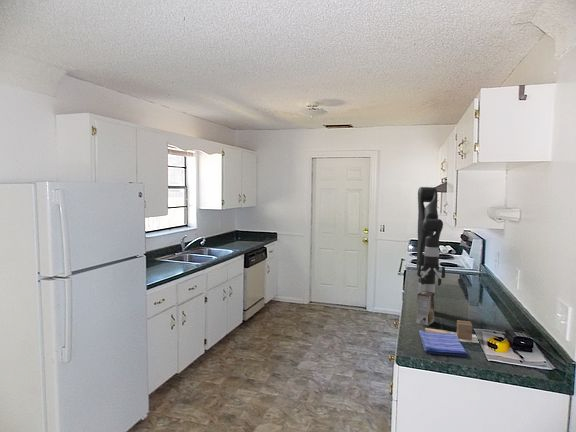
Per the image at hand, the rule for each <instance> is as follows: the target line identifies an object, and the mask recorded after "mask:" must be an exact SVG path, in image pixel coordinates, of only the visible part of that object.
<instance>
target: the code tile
mask: <svg viewBox="0 0 576 432" xmlns="http://www.w3.org/2000/svg"><path fill="white" fill-rule="evenodd" d="M449 334H456V336H457V331H456V332H455V331H449ZM457 338H458V337H457ZM458 340H459V341H460V342H466V343H473V344H474V343H475V344H480V343H479V342H480V341H478V340H479V338H478V336H477V335H476V334H473V333H472V340H467V339H458Z"/></svg>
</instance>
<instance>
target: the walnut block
mask: <svg viewBox="0 0 576 432" xmlns="http://www.w3.org/2000/svg"><path fill="white" fill-rule="evenodd" d="M456 332H457V337H458V339H467V340H472V334H473V324H472V322H471V321H467V320H458V319H457V320H456Z"/></svg>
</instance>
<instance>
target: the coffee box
mask: <svg viewBox="0 0 576 432" xmlns="http://www.w3.org/2000/svg"><path fill="white" fill-rule="evenodd" d="M435 295H436V292H435V293H432V292H428V291H422V292H420V293H418V292H417V301H416V302H417V303H416V324H417V325H424V326H427V327H428V326H431V324H433V323H434V322H435V298H436V297H435Z"/></svg>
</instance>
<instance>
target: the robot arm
mask: <svg viewBox="0 0 576 432" xmlns="http://www.w3.org/2000/svg"><path fill="white" fill-rule="evenodd" d="M438 197H439V194H438V189H437V188H436V187H432V186H420V187H419V188H418V191H417V209H418V213H417V215H418V216H417V217H418V220H417V251H416V252H417V253H416V271H417V272H416V275H417V277H418V283H417V284H418V285H417V294H418V293H420V292H422V291H428V292H432V293H435V294H436V291H435V290H436V277H437V286H440V285H442V279H444V278H445V279H446V267H445V266H443V265H442V266H440V265H439V263H440V237H441V232H442V230H443V227H444V222H443V220H442V219H440V218H439V213H438ZM424 203H428V204H426V206H425V204H424ZM423 253H424V254H423ZM439 270H440V271H441V274H440V273H439ZM421 272H422V273H421Z"/></svg>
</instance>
